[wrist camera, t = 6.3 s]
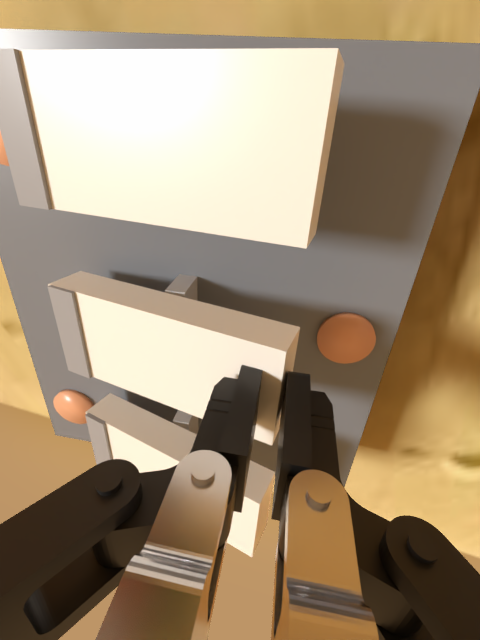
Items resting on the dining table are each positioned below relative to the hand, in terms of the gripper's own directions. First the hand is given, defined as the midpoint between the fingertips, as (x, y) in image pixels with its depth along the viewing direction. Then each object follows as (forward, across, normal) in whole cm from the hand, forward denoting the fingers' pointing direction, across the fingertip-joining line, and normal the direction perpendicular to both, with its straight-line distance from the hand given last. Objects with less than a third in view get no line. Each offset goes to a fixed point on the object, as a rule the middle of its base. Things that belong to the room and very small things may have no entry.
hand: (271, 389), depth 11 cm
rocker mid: (+1, +4, 0) cm, 4 cm away
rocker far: (+1, +4, +7) cm, 8 cm away
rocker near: (+1, +4, -7) cm, 8 cm away
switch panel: (+8, +4, 0) cm, 9 cm away
